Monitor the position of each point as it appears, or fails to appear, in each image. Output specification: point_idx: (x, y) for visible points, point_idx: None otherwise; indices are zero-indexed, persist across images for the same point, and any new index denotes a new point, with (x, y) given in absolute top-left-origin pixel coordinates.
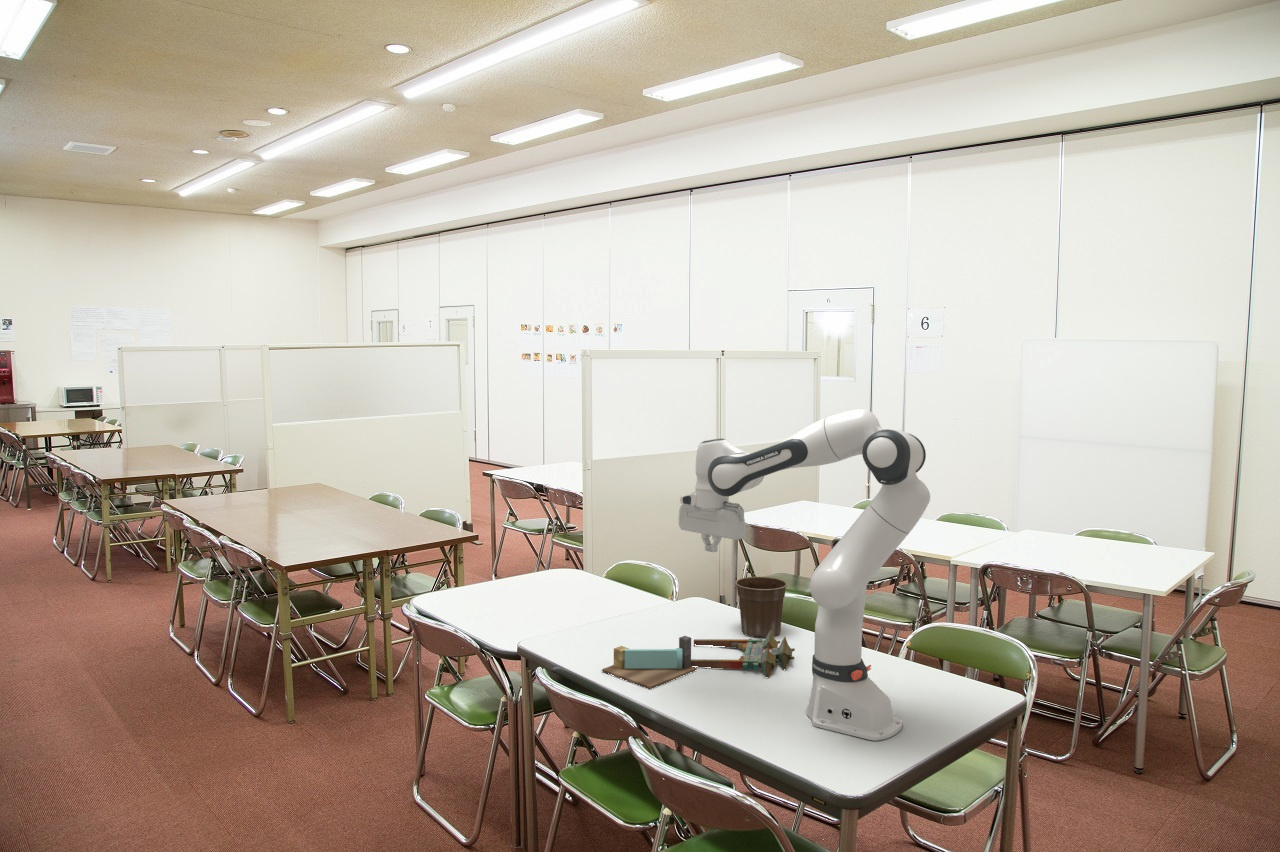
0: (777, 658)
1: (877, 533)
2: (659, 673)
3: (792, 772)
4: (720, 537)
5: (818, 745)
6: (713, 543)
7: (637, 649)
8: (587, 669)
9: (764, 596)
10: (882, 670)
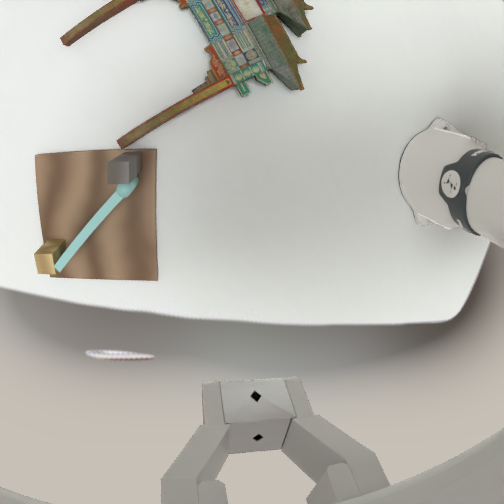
0: (276, 14)
1: None
2: (123, 225)
3: (415, 322)
4: (376, 474)
5: (428, 262)
6: (309, 465)
7: (67, 251)
8: (32, 281)
9: None
10: None
